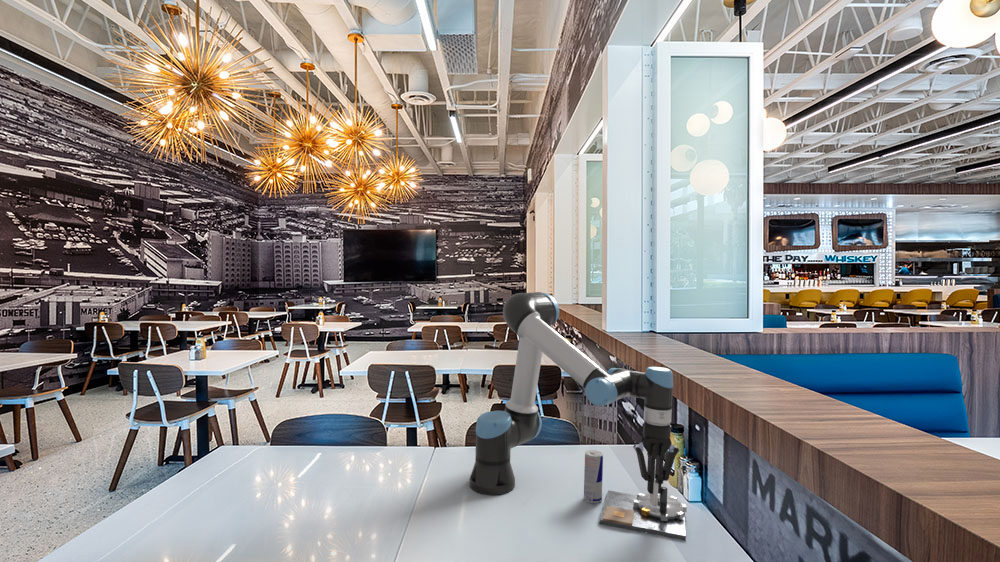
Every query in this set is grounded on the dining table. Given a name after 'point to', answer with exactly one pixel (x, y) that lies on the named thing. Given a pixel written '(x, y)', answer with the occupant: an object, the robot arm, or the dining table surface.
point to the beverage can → (593, 476)
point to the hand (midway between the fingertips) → (653, 504)
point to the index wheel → (660, 506)
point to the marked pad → (619, 515)
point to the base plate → (643, 518)
